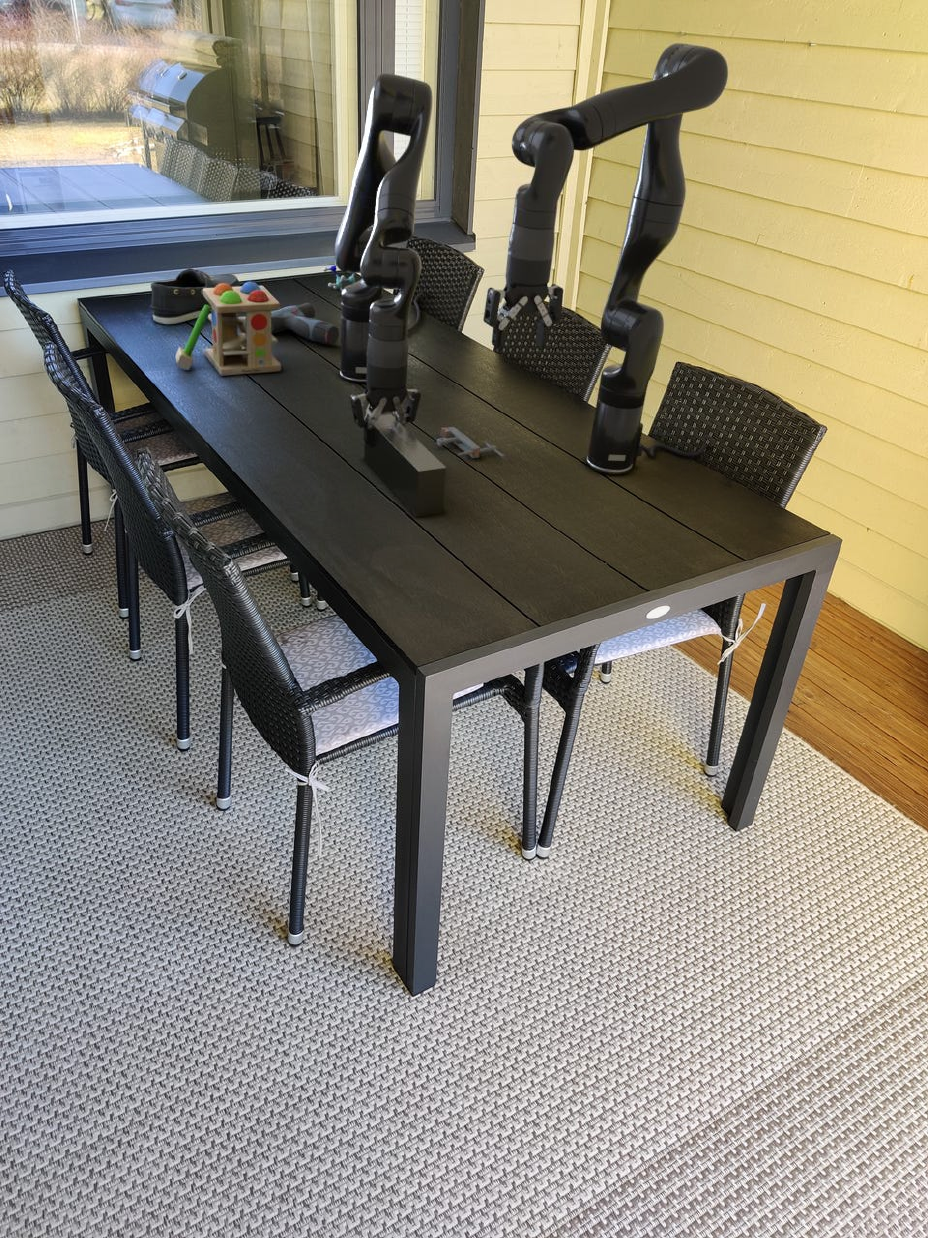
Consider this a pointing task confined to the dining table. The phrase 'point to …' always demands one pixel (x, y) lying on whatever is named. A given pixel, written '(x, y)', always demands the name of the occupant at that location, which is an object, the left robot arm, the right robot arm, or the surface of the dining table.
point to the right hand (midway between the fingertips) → (519, 347)
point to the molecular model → (339, 278)
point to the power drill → (304, 324)
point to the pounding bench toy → (229, 347)
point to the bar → (406, 467)
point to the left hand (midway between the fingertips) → (383, 443)
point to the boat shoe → (184, 295)
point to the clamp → (464, 443)
